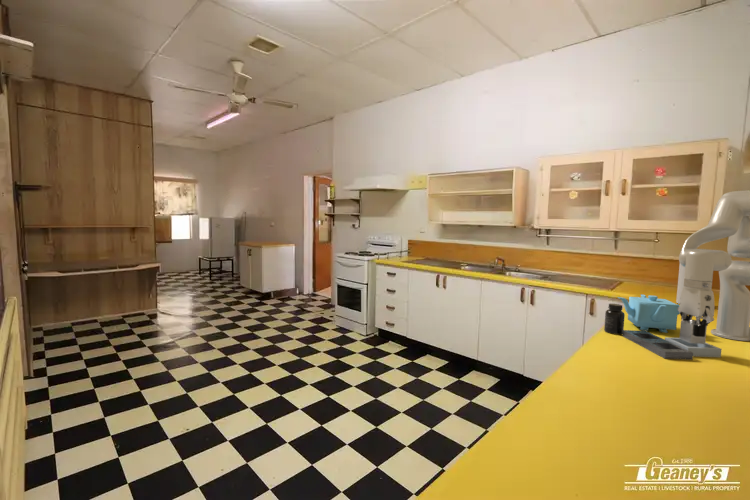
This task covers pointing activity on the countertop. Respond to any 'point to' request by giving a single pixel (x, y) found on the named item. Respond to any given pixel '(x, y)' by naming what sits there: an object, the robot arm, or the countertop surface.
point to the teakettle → (651, 312)
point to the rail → (657, 345)
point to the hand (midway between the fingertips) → (692, 333)
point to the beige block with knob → (690, 332)
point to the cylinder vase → (680, 282)
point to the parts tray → (697, 348)
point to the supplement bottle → (614, 319)
